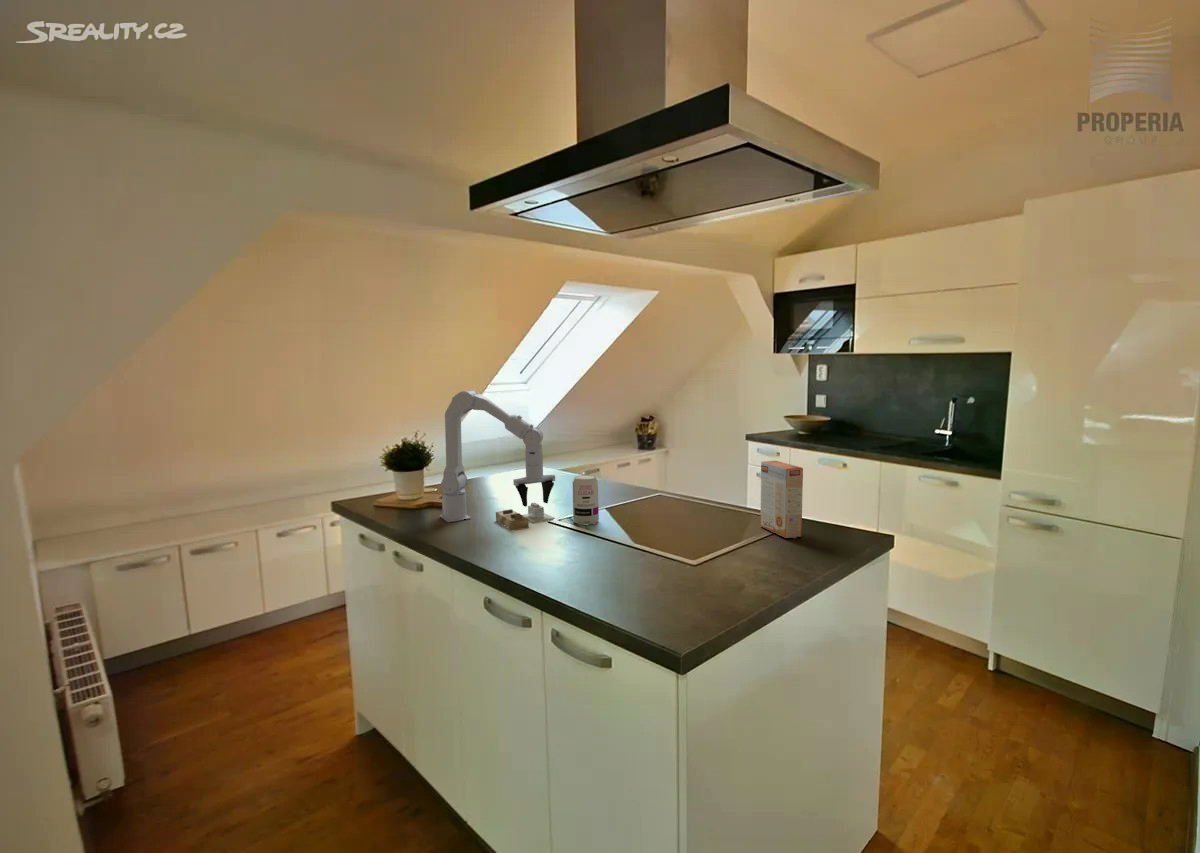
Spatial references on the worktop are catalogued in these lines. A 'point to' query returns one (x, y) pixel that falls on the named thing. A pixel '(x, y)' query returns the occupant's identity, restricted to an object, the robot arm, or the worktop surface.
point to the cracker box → (781, 498)
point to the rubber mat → (546, 518)
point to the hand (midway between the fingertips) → (535, 504)
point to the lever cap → (535, 511)
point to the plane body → (512, 519)
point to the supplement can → (585, 499)
